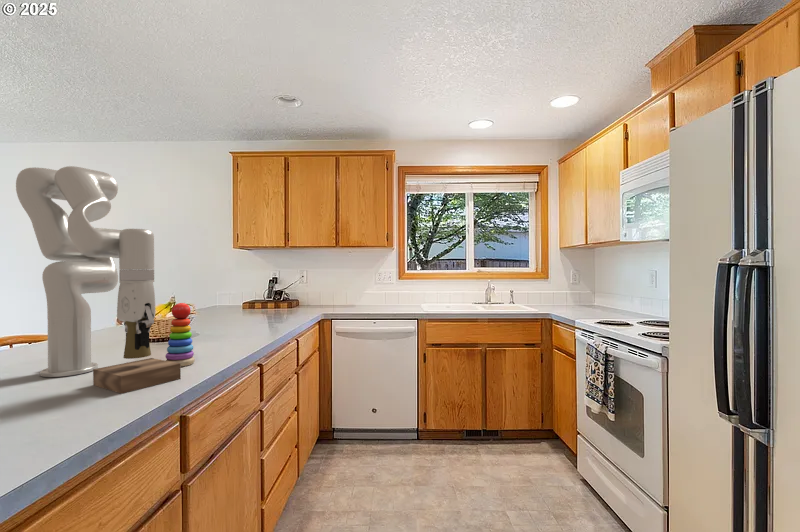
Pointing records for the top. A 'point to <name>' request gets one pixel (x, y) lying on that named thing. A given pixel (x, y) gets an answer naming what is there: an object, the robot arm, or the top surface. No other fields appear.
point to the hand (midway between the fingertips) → (137, 347)
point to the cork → (130, 343)
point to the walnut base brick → (136, 375)
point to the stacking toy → (180, 337)
